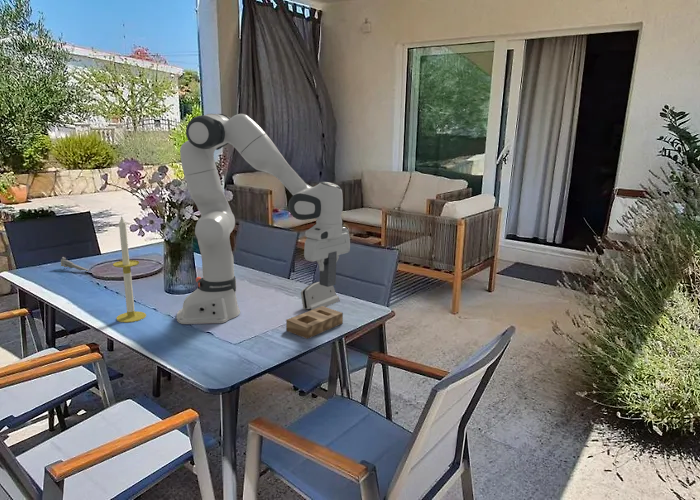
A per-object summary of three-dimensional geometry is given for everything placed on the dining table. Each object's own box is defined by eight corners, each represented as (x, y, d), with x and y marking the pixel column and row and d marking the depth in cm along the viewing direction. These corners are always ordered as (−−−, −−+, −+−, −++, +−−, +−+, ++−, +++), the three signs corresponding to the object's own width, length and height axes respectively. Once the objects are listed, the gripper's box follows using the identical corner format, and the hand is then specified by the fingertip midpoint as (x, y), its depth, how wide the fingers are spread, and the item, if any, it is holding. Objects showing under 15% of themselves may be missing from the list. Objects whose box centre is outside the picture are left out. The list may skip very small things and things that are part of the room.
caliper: (61, 269, 232) (59, 256, 230) (63, 269, 232) (61, 256, 231) (93, 275, 224) (91, 262, 223) (95, 274, 225) (93, 261, 224)
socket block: (307, 338, 161) (307, 327, 160) (286, 330, 167) (286, 319, 166) (342, 323, 174) (342, 312, 173) (322, 316, 180) (322, 306, 179)
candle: (131, 324, 169) (121, 218, 160) (109, 320, 173) (98, 216, 164) (152, 314, 179) (143, 214, 169) (130, 310, 182) (121, 211, 173)
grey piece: (312, 312, 184) (305, 286, 184) (303, 313, 187) (297, 288, 187) (340, 300, 196) (334, 277, 196) (332, 302, 200) (326, 278, 199)
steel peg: (327, 286, 168) (328, 253, 165) (319, 284, 170) (320, 251, 167) (335, 284, 171) (336, 251, 168) (327, 281, 173) (328, 249, 170)
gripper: (341, 225, 175) (340, 261, 179) (301, 232, 160) (300, 272, 163) (355, 227, 171) (353, 265, 175) (315, 235, 156) (314, 277, 159)
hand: (327, 269), depth 169 cm, fingers closed on steel peg, 4 cm apart
